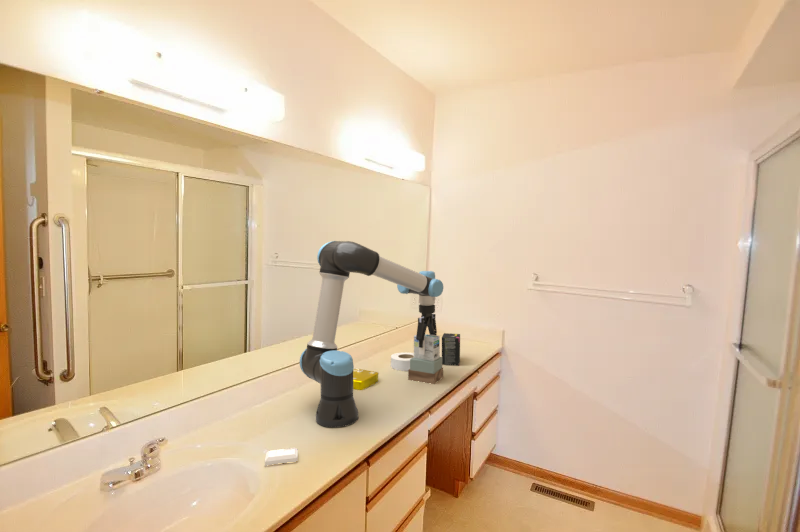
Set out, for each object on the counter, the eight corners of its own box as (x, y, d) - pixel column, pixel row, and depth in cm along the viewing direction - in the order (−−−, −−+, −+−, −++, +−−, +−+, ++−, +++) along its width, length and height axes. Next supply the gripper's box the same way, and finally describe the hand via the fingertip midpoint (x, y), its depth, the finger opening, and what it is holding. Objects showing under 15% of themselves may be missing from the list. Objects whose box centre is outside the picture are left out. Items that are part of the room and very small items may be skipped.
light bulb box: (440, 358, 189) (440, 335, 189) (433, 361, 184) (433, 338, 183) (419, 354, 195) (420, 332, 194) (413, 358, 189) (413, 335, 189)
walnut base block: (434, 385, 182) (434, 374, 182) (408, 380, 188) (408, 369, 188) (443, 377, 192) (443, 367, 191) (418, 373, 198) (418, 363, 197)
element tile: (333, 386, 181) (333, 375, 180) (353, 376, 194) (353, 366, 194) (361, 391, 174) (361, 380, 173) (379, 381, 187) (379, 371, 187)
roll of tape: (398, 360, 219) (398, 350, 219) (425, 364, 212) (425, 354, 212) (385, 368, 205) (385, 357, 205) (413, 373, 198) (413, 361, 198)
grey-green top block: (434, 373, 182) (434, 362, 182) (410, 369, 188) (410, 359, 187) (442, 367, 191) (442, 357, 191) (419, 364, 196) (419, 354, 196)
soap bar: (266, 458, 120) (266, 450, 119) (297, 454, 122) (297, 446, 122) (264, 467, 115) (264, 458, 115) (297, 463, 117) (297, 454, 117)
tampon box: (459, 366, 209) (459, 338, 208) (441, 365, 211) (441, 337, 210) (460, 360, 220) (460, 333, 219) (443, 359, 222) (443, 332, 221)
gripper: (423, 308, 177) (423, 358, 178) (444, 301, 196) (443, 347, 197) (408, 306, 181) (408, 356, 182) (430, 300, 200) (429, 345, 201)
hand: (426, 351), depth 190 cm, fingers open, 9 cm apart
